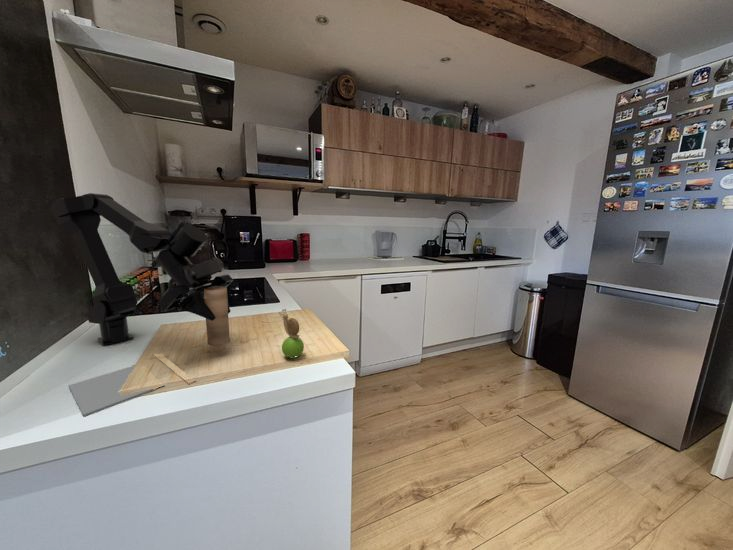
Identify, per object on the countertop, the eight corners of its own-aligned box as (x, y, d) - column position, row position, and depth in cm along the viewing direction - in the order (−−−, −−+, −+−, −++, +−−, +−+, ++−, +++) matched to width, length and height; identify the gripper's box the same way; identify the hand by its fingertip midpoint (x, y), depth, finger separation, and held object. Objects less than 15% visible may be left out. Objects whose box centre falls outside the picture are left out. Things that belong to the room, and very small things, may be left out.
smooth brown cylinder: (203, 342, 71) (200, 288, 69) (223, 336, 75) (220, 285, 73) (213, 348, 68) (209, 292, 66) (233, 341, 72) (230, 288, 70)
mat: (68, 387, 56) (68, 385, 56) (142, 364, 66) (142, 363, 66) (83, 416, 48) (83, 414, 48) (165, 386, 58) (164, 384, 58)
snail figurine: (293, 349, 76) (292, 306, 74) (308, 356, 72) (308, 311, 70) (275, 355, 72) (274, 311, 70) (290, 364, 68) (289, 316, 66)
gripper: (164, 251, 59) (213, 306, 59) (225, 245, 77) (262, 287, 77) (137, 284, 62) (184, 337, 62) (202, 271, 80) (238, 312, 80)
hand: (221, 315), depth 70 cm, fingers closed on smooth brown cylinder, 5 cm apart
